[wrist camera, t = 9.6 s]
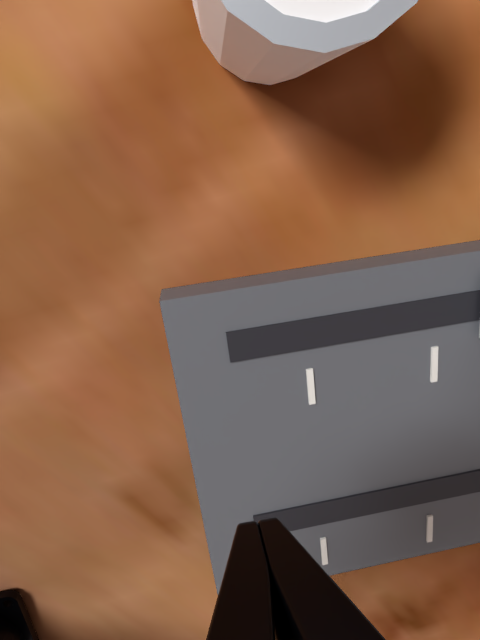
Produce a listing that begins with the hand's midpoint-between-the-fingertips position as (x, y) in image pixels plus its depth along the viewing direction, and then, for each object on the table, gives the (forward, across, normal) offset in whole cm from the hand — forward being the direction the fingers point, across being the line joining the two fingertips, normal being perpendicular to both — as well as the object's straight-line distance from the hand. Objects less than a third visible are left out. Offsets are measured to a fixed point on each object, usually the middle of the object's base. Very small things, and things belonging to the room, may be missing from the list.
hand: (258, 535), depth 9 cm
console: (+12, -10, +5) cm, 17 cm away
